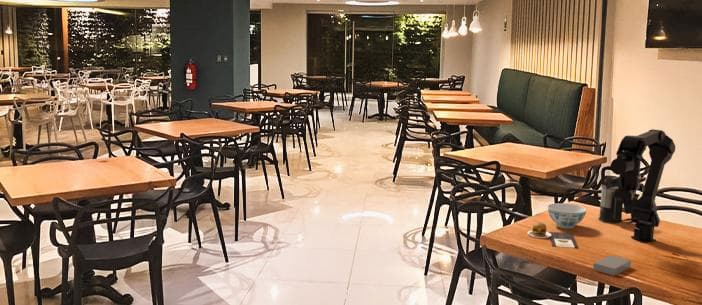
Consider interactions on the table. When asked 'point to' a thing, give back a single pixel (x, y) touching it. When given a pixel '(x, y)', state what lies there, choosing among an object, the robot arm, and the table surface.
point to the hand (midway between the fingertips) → (627, 213)
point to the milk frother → (611, 206)
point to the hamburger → (539, 231)
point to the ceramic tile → (611, 265)
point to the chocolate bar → (563, 240)
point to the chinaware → (566, 214)
